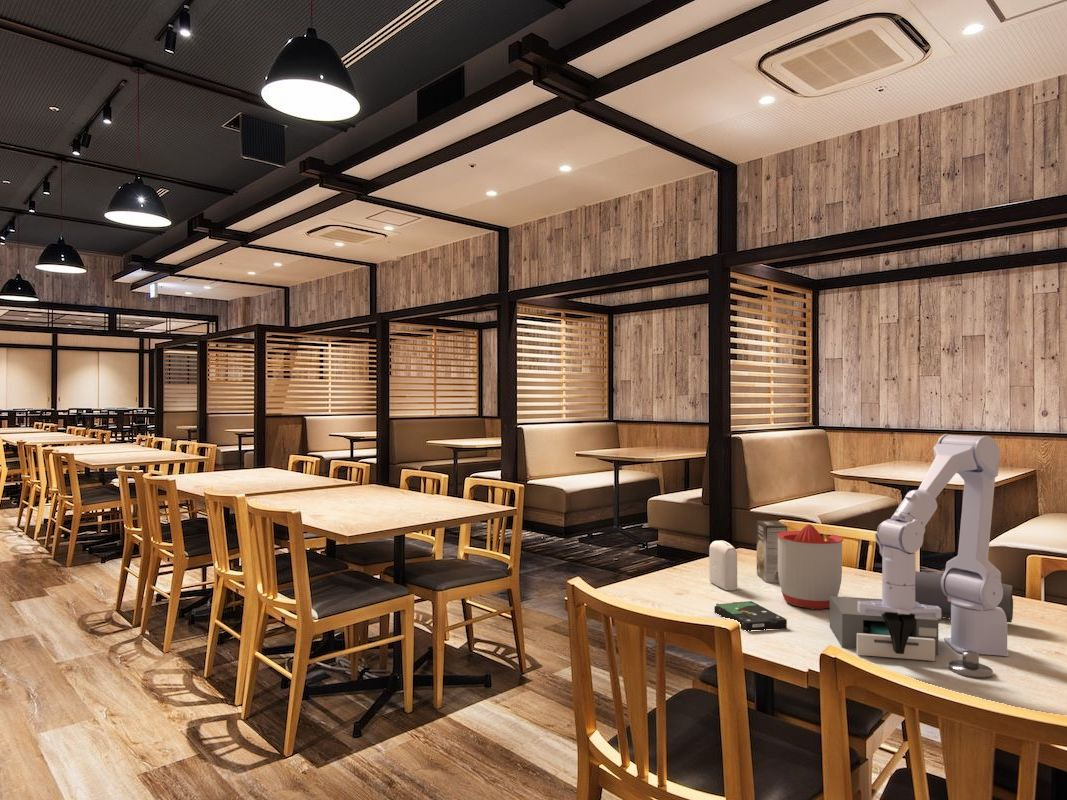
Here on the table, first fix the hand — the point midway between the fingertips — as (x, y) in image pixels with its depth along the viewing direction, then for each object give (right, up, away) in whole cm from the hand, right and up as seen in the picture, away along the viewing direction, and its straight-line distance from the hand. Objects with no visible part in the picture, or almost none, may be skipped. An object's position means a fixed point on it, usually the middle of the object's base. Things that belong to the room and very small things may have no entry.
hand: (898, 652), depth 135 cm
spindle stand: (+11, -2, -4) cm, 12 cm away
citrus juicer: (-1, -2, +40) cm, 40 cm away
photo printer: (-19, -2, +56) cm, 59 cm away
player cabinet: (+3, -2, +13) cm, 13 cm away
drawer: (+2, -2, +10) cm, 10 cm away
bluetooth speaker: (+28, -3, +29) cm, 40 cm away
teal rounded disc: (+2, -1, +10) cm, 10 cm away
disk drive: (-21, -3, +26) cm, 33 cm away
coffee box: (-3, -3, +64) cm, 64 cm away
